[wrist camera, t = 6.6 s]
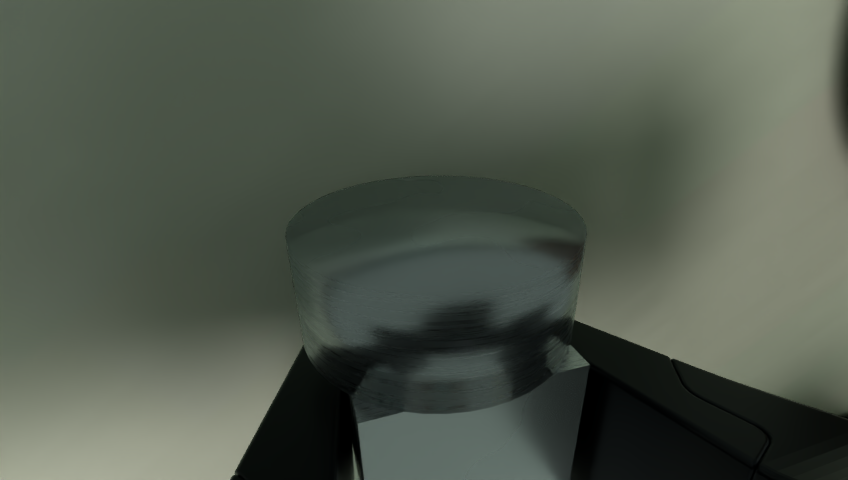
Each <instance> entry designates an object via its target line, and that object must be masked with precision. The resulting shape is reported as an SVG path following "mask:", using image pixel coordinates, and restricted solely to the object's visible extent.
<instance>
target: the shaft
mask: <svg viewBox="0 0 848 480" xmlns="http://www.w3.org/2000/svg"><path fill="white" fill-rule="evenodd" d="M586 236H587V232H586V225H585V223H584V221H583V219H582V217H581V216H580V215H579V214H578V212H577V211H575V210H574V209H573V208H572V207H571V206H570V205H568V204H566V203H565V202H563V201H562V200H560V199H558V198H556V197H554V196H552V195H550V194H547V193H545V192H542V191H539V190H537V189H533V188H530V187H527V186H523V185H519V184H515V183H510V182H505V181H500V180H493V179H486V178H477V177H465V176H415V177H403V178H394V179H386V180H380V181H374V182H369V183H365V184H360V185H356V186H352V187H349V188H345V189H342V190H339V191H336V192H333V193H331V194H328V195H326V196H324V197H321V198H319V199H317V200H316V201H314V202H312V203H310V204H309V205H307V206H306V207H304V208H303V209H301V210H300V211H299V212H298V213H297V214H296V215H295V216H294V217H293V218H292V220H291V221H290V222H289V225H288V227H287V229H286V236H285V237H286V243H287V249H288V255H289V261H290V267H291V273H292V278H293V284H294V290H295V296H296V302H297V308H298V314H299V320H300V325H301V331H302V337H303V342H304V347H305V351H306V353H307V355H308V357H309V360H310V362H311V363H312V364H313V366H314V367H315V368H316V370H317V371H318V372H319V373H320V374H321V375H322V376H323V377H324V378H325V379H326V380H327V381H328V382H329V383H331V384H332V385H334V386H335V387H337V388H338V389H340V390H341V391H343V392H345V393H346V399H347V407H348V415H349V422H350V430H351V438H352V446H353V458H354V479H355V480H570V476H571V470H572V464H573V459H574V453H575V447H576V441H577V436H578V430H579V424H580V419H581V413H582V407H583V401H584V396H585V390H586V384H587V379H588V373H589V367H590V364H589V363H588V362H587V361H586V360H585V359H584V358H583V357H582V356H581V355H580V354H579V353H578V352H577V351H576V350H575V349H574V348H573V347H572V346H571V345H570V343H571V338H572V331H573V324H574V317H575V311H576V304H577V297H578V290H579V283H580V277H581V270H582V263H583V256H584V250H585V243H586Z"/></svg>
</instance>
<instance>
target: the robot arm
mask: <svg viewBox="0 0 848 480" xmlns="http://www.w3.org/2000/svg"><path fill="white" fill-rule="evenodd" d="M570 345H571V346H572V347H573V348H574V349H575V350H576V351H577V352H578V353H579V354H580V355H581V356H582V357H583V358H584V359H585V360H586V361H587V362H588V363H589V364H590V367H589V373H588V379H587V384H586V390H585V396H584V401H583V407H582V413H581V419H580V424H579V430H578V436H577V441H576V447H575V453H574V459H573V464H572V470H571V476H570V480H848V418H843V417H840V416H837V415H834V414H831V413H828V412H825V411H822V410H819V409H816V408H813V407H810V406H807V405H804V404H801V403H797V402H794V401H791V400H788V399H785V398H782V397H779V396H776V395H773V394H770V393H767V392H764V391H761V390H758V389H755V388H752V387H749V386H746V385H743V384H741V383H738V382H735V381H732V380H729V379H726V378H723V377H721V376H718V375H715V374H713V373H710V372H707V371H705V370H702V369H699V368H696V367H694V366H691V365H689V364H686V363H684V362H681V361H679V360H676V359H671V360H670V358H669V357H668V356H665V355H663V354H660V353H658V352H655V351H653V350H650V349H647V348H645V347H642V346H640V345H637V344H635V343H632V342H629V341H627V340H624V339H622V338H619V337H617V336H614V335H611V334H609V333H606V332H604V331H601V330H598V329H596V328H593V327H591V326H588V325H586V324H583V323H580V322H578V321H575V320H574V324H573V331H572V338H571V343H570ZM230 480H355V479H354V458H353V446H352V438H351V430H350V422H349V415H348V407H347V399H346V393H345V392H343V391H341V390H340V389H338V388H337V387H335V386H334V385H332V384H331V383H329V382H328V381H327V380H326V379H325V378H324V377H323V376H322V375H321V374H320V373H319V372H318V371H317V370H316V368H315V367H314V366H313V364H312V363H311V362H310V360H309V357H308V355H307V353H306V351H305V347H304V345H303V347H302V349H301V350H300V352H299V354H298V356H297V358H296V360H295V361H294V363H293V365H292V367H291V369H290V371H289V373H288V374H287V376H286V378H285V380H284V382H283V384H282V385H281V387H280V389H279V391H278V393H277V395H276V397H275V398H274V400H273V402H272V404H271V406H270V408H269V410H268V411H267V413H266V415H265V417H264V419H263V421H262V422H261V424H260V426H259V428H258V430H257V432H256V434H255V435H254V437H253V439H252V441H251V443H250V445H249V446H248V448H247V450H246V452H245V454H244V456H243V458H242V459H241V461H240V463H239V465H238V467H237V469H236V470H235V475H233V476H232V477H231V479H230Z"/></svg>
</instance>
